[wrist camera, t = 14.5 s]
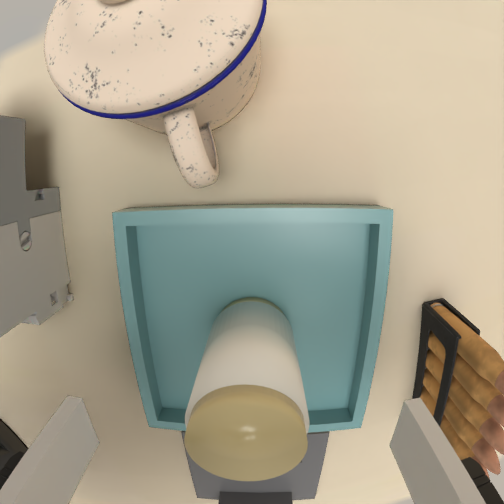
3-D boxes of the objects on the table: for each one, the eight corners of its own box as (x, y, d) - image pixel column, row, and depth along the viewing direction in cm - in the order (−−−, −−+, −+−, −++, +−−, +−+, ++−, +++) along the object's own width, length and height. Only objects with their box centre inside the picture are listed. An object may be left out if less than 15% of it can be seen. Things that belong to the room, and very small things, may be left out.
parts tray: (157, 407, 23) (149, 426, 21) (128, 207, 19) (112, 212, 17) (353, 408, 22) (360, 427, 20) (378, 205, 19) (393, 209, 16)
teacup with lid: (112, 40, 17) (9, -37, 5) (242, -4, 16) (226, -131, 4) (150, 204, 19) (30, 245, 8) (295, 163, 18) (346, 147, 7)
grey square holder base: (197, 495, 26) (193, 520, 22) (182, 429, 23) (173, 458, 20) (314, 495, 26) (317, 521, 22) (328, 429, 23) (335, 459, 20)
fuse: (215, 362, 21) (188, 480, 11) (210, 293, 20) (169, 397, 10) (289, 363, 21) (306, 482, 11) (292, 293, 19) (319, 399, 10)
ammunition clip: (422, 302, 20) (525, 399, 9) (443, 297, 20) (549, 385, 9) (409, 413, 23) (463, 516, 11) (428, 407, 23) (485, 505, 11)
